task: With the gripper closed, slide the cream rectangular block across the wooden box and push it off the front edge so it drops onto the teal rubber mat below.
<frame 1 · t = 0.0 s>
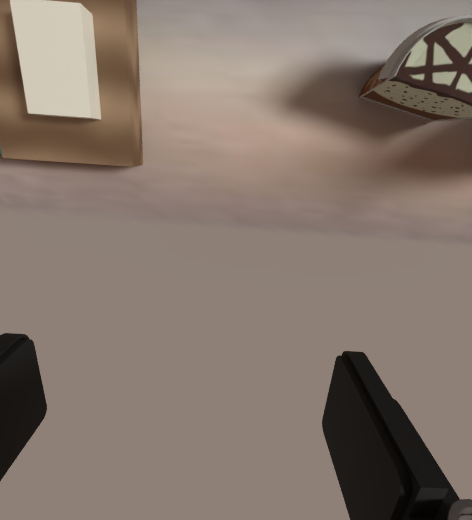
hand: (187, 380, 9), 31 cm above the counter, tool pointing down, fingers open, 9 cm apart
wooden box: (75, 75, 34), on the counter
cream rectangular block: (59, 64, 29), point 5 cm above the counter, touching wooden box
food container: (407, 80, 34), on the counter
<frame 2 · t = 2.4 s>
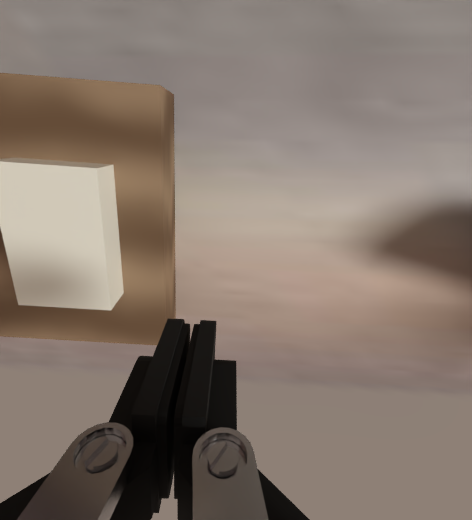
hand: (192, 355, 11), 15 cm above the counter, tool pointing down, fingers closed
wooden box: (86, 215, 24), on the counter
cream rectangular block: (64, 236, 19), point 5 cm above the counter, touching wooden box
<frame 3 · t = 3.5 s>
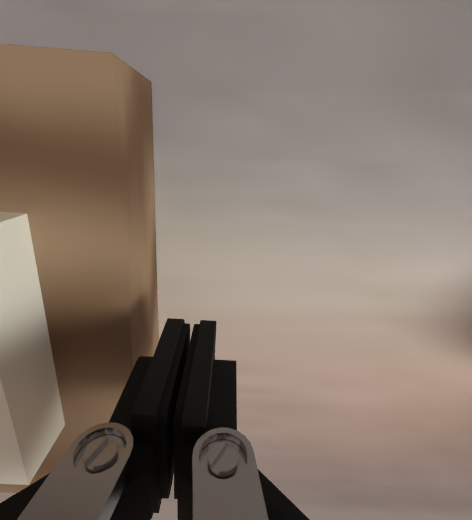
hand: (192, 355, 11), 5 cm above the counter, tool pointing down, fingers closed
wooden box: (12, 281, 15), on the counter
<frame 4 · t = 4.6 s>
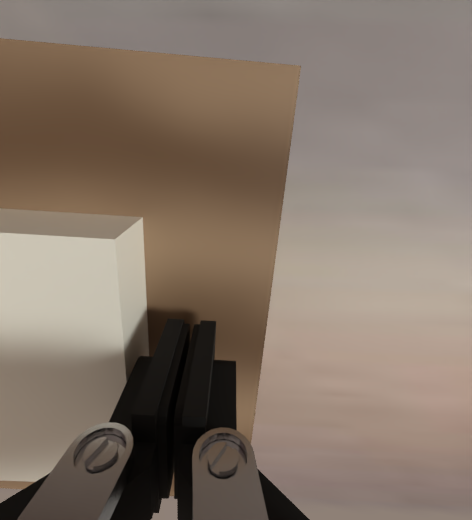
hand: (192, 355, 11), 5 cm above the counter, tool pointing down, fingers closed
wooden box: (115, 284, 15), on the counter
cream rectangular block: (47, 353, 10), point 5 cm above the counter, touching gripper
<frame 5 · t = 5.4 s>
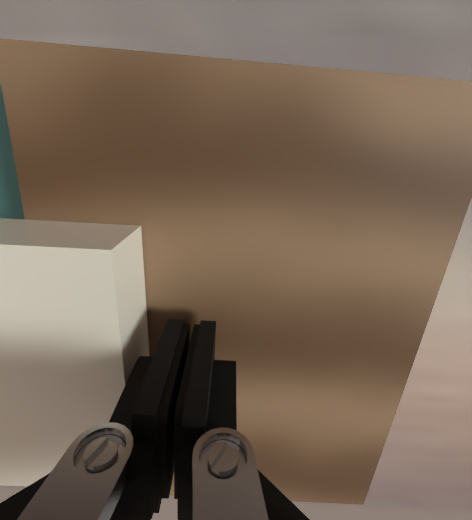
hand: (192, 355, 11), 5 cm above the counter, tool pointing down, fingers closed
wooden box: (234, 292, 15), on the counter
cream rectangular block: (49, 360, 10), point 5 cm above the counter, touching gripper
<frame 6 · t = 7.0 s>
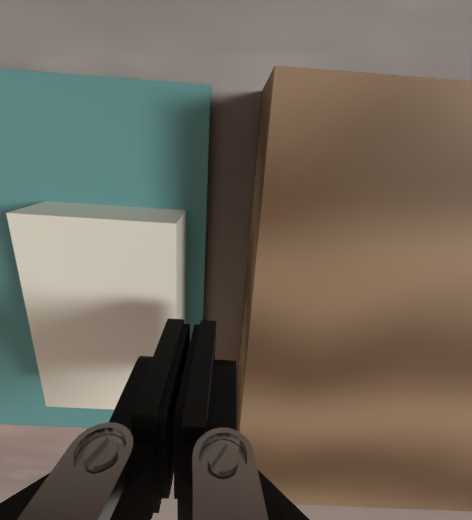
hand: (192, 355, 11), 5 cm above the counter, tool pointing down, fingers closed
wooden box: (383, 303, 15), on the counter
cream rectangular block: (114, 311, 13), point 2 cm above the counter, tilted 180°, touching mat
mat: (81, 286, 15), on the counter
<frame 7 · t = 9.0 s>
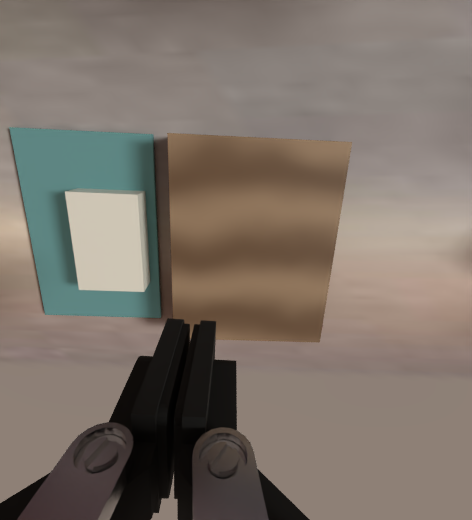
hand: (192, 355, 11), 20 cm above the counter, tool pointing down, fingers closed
wooden box: (250, 238, 30), on the counter
cream rectangular block: (111, 241, 28), point 2 cm above the counter, tilted 180°, touching mat
mat: (95, 232, 29), on the counter
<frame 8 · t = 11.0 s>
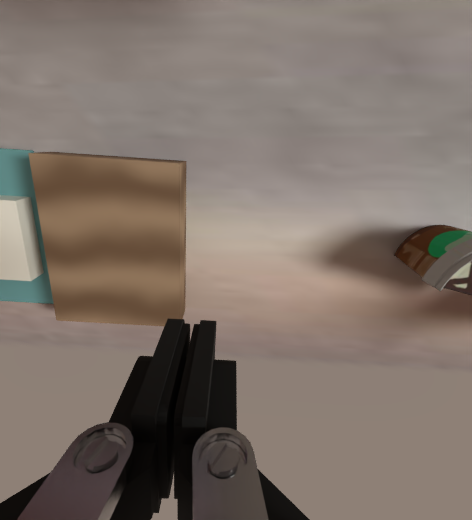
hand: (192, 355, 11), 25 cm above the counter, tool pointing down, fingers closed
wooden box: (125, 238, 35), on the counter
cream rectangular block: (3, 238, 33), point 2 cm above the counter, tilted 180°, touching mat
food container: (441, 240, 36), on the counter
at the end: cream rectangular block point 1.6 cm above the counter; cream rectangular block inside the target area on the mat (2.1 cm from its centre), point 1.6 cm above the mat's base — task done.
